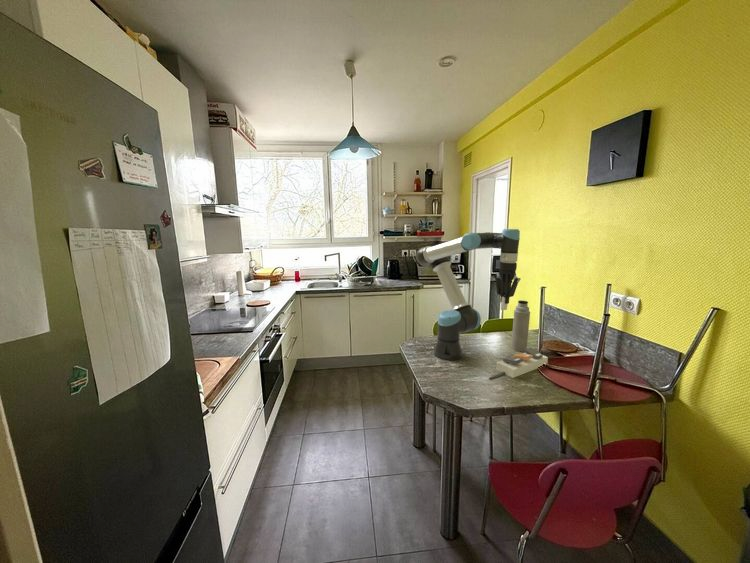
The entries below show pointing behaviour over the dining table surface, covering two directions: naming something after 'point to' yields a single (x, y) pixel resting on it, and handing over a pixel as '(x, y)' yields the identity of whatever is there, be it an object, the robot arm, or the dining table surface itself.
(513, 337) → the thermos bottle
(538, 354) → the rocker
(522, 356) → the orange flat block
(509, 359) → the rocker
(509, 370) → the power strip
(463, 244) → the robot arm
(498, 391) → the dining table surface
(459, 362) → the dining table surface
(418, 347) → the dining table surface
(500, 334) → the dining table surface
